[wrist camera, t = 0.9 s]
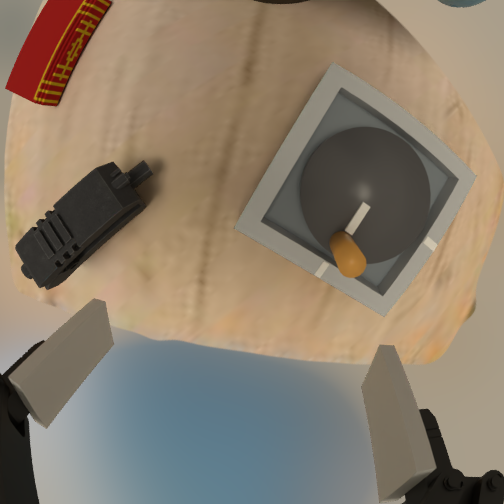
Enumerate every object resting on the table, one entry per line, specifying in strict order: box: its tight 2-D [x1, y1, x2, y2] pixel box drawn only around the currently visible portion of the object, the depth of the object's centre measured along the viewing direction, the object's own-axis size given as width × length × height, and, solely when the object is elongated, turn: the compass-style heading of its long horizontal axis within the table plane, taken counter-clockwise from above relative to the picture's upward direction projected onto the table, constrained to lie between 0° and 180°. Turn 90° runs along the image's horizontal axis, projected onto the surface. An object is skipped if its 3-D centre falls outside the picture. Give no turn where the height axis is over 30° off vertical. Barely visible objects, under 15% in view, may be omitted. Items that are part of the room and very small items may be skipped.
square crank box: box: [234, 62, 477, 317], centre depth 28 cm, size 20×20×5 cm
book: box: [5, 0, 111, 106], centre depth 25 cm, size 18×13×5 cm
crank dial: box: [300, 127, 431, 278], centre depth 24 cm, size 14×14×8 cm
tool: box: [15, 160, 153, 290], centre depth 31 cm, size 6×19×15 cm, turn 127°
